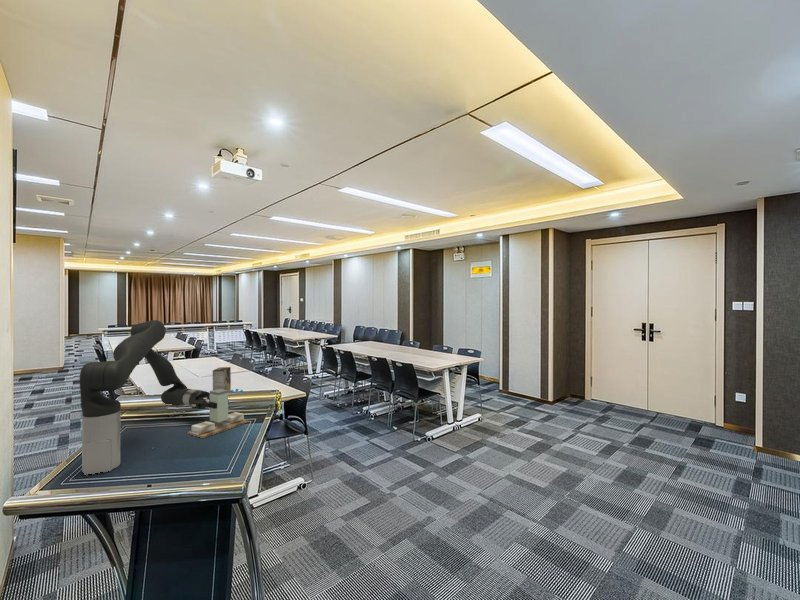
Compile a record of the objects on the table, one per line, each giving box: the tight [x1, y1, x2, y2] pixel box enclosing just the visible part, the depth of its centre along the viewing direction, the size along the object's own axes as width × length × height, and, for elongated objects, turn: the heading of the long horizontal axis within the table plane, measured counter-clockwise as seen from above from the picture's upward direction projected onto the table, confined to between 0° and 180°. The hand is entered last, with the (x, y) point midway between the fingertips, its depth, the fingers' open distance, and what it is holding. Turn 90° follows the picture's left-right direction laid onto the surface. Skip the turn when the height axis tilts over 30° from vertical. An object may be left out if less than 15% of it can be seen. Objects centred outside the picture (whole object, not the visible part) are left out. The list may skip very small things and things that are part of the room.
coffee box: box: [212, 366, 232, 392], centre depth 194 cm, size 9×6×16 cm
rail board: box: [187, 411, 249, 439], centre depth 146 cm, size 20×10×4 cm, turn 152°
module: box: [209, 389, 229, 423], centre depth 146 cm, size 4×6×12 cm
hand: (222, 404), depth 145 cm, fingers closed on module, 4 cm apart
